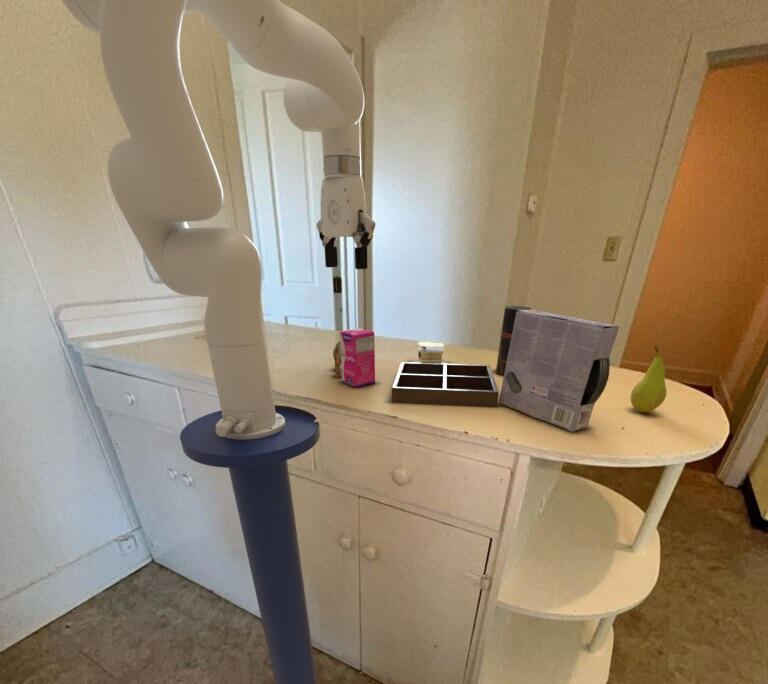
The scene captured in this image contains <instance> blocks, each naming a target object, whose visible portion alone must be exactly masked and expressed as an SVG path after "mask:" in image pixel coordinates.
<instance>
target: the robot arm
mask: <svg viewBox="0 0 768 684" xmlns="http://www.w3.org/2000/svg"><path fill="white" fill-rule="evenodd" d="M61 1H62V3H63V5H64V6H65V7H66V8H67V10H68V12H69V13H71V15H72V16H73V17H74V18H75V20H76V21H78V22H79V23H80V24H81V25H82V26H83V27H85V28H86V29H87V30H89V31H90V32H92V33H94V34H96V35H99V42H100V53H101V59H102V64H103V69H104V72H105V77H106V80H107V83H108V86H109V89H110V92H111V93H112V96H113V98H114V101H115V103H116V106H117V108H118V110H119V113H120V115H121V117H122V120H123V122H124V124H125V126H126V129H127V130H128V134H129V136H130V137H129V138H125V139H122V140H120V141H119V142H116V144H114V146H113V147H112V148H111V150H110V152H109V155H108V159H107V175H108V182H109V185H110V189H111V191H112V194H113V197H114V199H115V201H116V203H117V205H118V207H119V209H120V211H121V213H122V215H123V217H124V219H125V220H126V223H127V224H128V226H129V228H130V229H131V231H132V233H133V235H134V236H135V238H136V240H137V242H138V244H139V245H140V247H141V249H142V251H143V253H144V255H145V256H146V258H147V260H148V262H149V264H150V265H151V267H152V269H153V270H154V272H155V274H156V275H157V276H158V278H159V279H160V280H161V281H162V283H163V284H164V285H165V286H166V287H167V288H168V289H170V291H171V290H172V291H173V292H175V293H176V294H179V295H183V296H188V297H201V298H207V303H206V308H205V313H204V319H203V328H204V335H205V341H206V344H207V345H206V346H207V348H208V355H209V359H210V362H211V368H212V373H213V378H214V382H215V386H216V387H215V388H216V391H217V396H218V401H219V405H220V411H222V416H223V418H222V419H221V420H220V421H218V423H217V424H216V433H217V435H219V436H220V437H225V438H229V439H235V440H251V439H259V438H264V437H268V436H271V435H274V434H276V433H278V432H280V431H281V430H282V429H283V428H284V427H285V419H284V417H283V416H282V415H280V414H278V413H275V405H276V404H275V399H274V392H273V385H272V379H271V370H270V364H269V356H268V349H267V342H266V341H267V340H266V335H265V329H264V319H263V310H262V309H263V308H262V286H263V285H262V283H263V266H262V259H261V256H260V253H259V251H258V248H257V247H256V245H255V243H254V242H253V240H251V239H250V238H249V237H248V236H247V235H245V234H244V233H243V232H241V231H238V230H237V229H232V228H227V227H220V226H218V227H217V226H214V227H213V226H211V227H209V226H207V227H205V226H204V227H201V226H200V227H190V226H189V225H188V223H187V222H201V221H202V222H203V221H207V220H210V219H212V218H213V217H214V218H215V217H216V216H217V215H218V214H219V213H220V212H221V210H222V208H223V206H224V189H223V186H222V182H221V179H220V176H219V172H218V169H217V167H216V165H215V161H214V159H213V156H212V153H211V151H210V149H209V146H208V143H207V141H206V138H205V135H204V133H203V130H202V127H201V124H200V122H199V119H198V117H197V114H196V112H195V109H194V107H193V104H192V100H191V98H190V94H189V91H188V89H187V85H186V82H185V79H184V74H183V70H182V63H181V53H180V52H181V51H180V47H181V46H180V45H181V43H180V42H181V30H182V25H183V24H182V23H183V19H184V15H186V14H190V13H194V12H197V13H200V14H202V15H203V16H204V17H205V18H206V19H207V20H208V21H209V23H210V24H211V25H213V27H214V28H215V29H216V30H217V31H218V32H219V33H220V34H221V36H223V38H224V39H225V40H226V41H227V42H228V43H229V44H230V46H231V47H232V48H233V49H234V50H235V51H236V52H237V53H238V54H239V55H240V58H242V59H243V60H244V61H245V62H246V63H247V65H249V66H250V67H251V68H252V69H255V70H256V71H257V70H258V71H259V72H262V73H265V74H268V75H271V76H276V77H280V78H284V79H285V78H286V79H289V80H288V81H287V83H286V84H285V87H284V90H283V107H284V110H285V113H286V116H287V118H288V119H289V121H290V122H291V123H292V125H294V127H296V128H297V129H298V130H300V131H303V132H307V133H320V134H321V142H322V162H323V168H322V170H323V177H324V178H323V179H322V180H321V188H320V219H319V220H318V222H317V223H316V229H317V231H318V234H319V235H318V236H319V239H320V240H321V244H322V247H324V263H325V268H337V267H338V266H339V265H338V263H339V262H338V248H337V246H336V244H337V241H338V239H339V238H340V237H341V238H352V240H353V241H354V243H355V246H356V247H354V268H355V270H367V269H368V248H369V247H370V245H371V241H372V239H373V238H374V232H375V228H376V222H375V221H374V220H373V219H372V217H370V216H369V215H367V202H366V193H365V186H364V181H363V180H364V179H363V178H362V155H361V154H362V151H361V148H362V146H361V118H362V117H363V114H364V109H365V93H364V87H363V83H362V81H361V78H360V75H359V73H358V71H357V69H356V67H355V65H354V64H353V61H352V60H351V58H350V57H349V55H348V53H347V52H346V51H345V49H344V47H343V46H342V44H341V43H340V41H338V39H337V38H336V37H335V36H333V35H332V34H331V33H330V32H329V31H328V30H327V29H326V28H324V27H322V26H321V25H319V24H318V23H316V22H314V21H313V20H311V19H309V18H308V17H307V16H305V15H303V14H302V13H300V12H299V11H297V10H296V9H293V8H291V7H290V6H288V5H286V4H284V3H283V2H282V1H280V0H61Z"/></svg>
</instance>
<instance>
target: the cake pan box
mask: <svg viewBox="0 0 768 684" xmlns="http://www.w3.org/2000/svg"><path fill="white" fill-rule="evenodd" d="M619 329H620V327H619V325H617V324H611V323H605V322H599V321H593V320H589V319H583V318H579V317H574V316H570V315H563V314H556V313H552V312H546V311H540V310H536V309H531V310H517V313H516V318H515V323H514V328H513V333H512V338H511V343H510V348H509V353H508V358H507V363H506V368H505V373H504V375H503V379H502V384H501V388H500V389H501V390H500V392H499V393H500V394H499V397H498V402H499V403H498V404H500V405H502V406H505V407H508V408H511V409H513V410H516V411H518V412H520V413H523V415H527V416H530V417H532V418H535V419H537V420H539V421H544V422H546V423H549V424H552V425H555V426H557V427H560V428H563V429H565V430H567V431H568V432H571V433H574V432H577V431H580V430H584V429H586V428H588V427H589V423H590V420H591V417H592V413H593V410H594V407H595V404H596V403H597V401H598V400H599V399H600V398H601V396H602V394H603V392H604V391H605V389H606V386H607V384H608V381H609V377H610V370H611V369H610V368H611V361H610V357H611V353H612V351H613V348H614V344H615V342H616V338H617V336H618V332H619Z"/></svg>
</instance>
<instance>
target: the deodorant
mask: <svg viewBox="0 0 768 684" xmlns="http://www.w3.org/2000/svg"><path fill="white" fill-rule="evenodd" d="M517 310H532V308H531V307H529V306H521V305H507V306H505V307H504V312H503V318H502V324H501V325H502V326H501V331H500V332H501V333H500V340H499V347H498V354H497V361H496V367H495V374H498V375H500V376H504V373H505V368H506V363H507V358H508V353H509V348H510V343H511V338H512V333H513V328H514V323H515V318H516V313H517Z"/></svg>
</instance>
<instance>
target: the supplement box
mask: <svg viewBox="0 0 768 684" xmlns="http://www.w3.org/2000/svg"><path fill="white" fill-rule="evenodd" d="M339 341H340V349H341V365H340V366H341V381H342V383H344V384H347V385H350V386H352V387H354V388H356V389H357V388H362V387H367V386H369V385H370V386H371V385H374V384H376V356H375V355H376V354H375V353H376V352H375V331H372V330H368V329H364V328H360V327H358V328H352V329H345V330H340V331H339Z"/></svg>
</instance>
